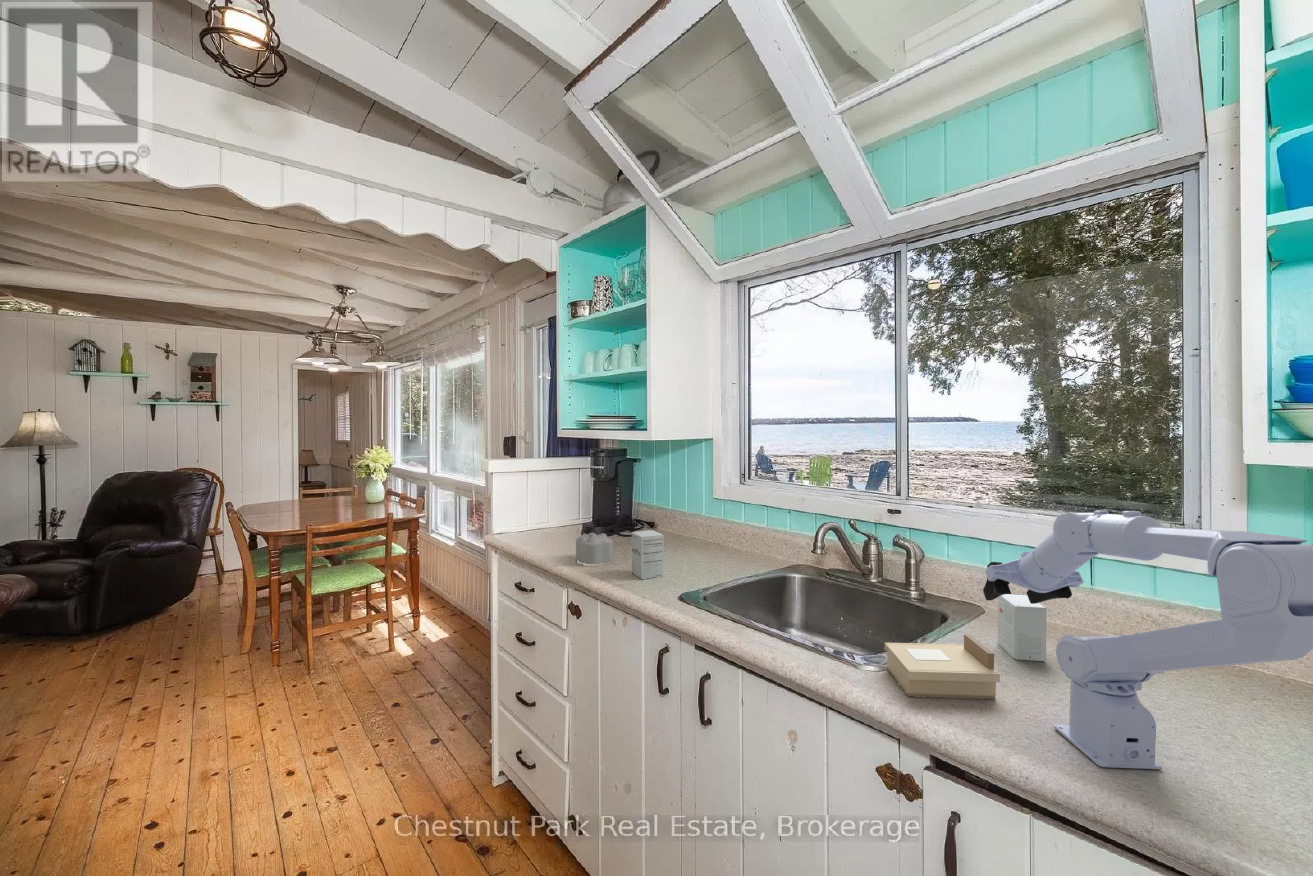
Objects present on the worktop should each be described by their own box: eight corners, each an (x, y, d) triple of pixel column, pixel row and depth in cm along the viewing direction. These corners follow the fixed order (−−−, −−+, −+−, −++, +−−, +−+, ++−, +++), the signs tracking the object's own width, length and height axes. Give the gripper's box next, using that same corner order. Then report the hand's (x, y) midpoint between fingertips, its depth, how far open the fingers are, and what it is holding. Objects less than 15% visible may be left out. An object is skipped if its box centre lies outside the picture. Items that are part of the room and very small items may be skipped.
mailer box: (995, 699, 90) (995, 675, 90) (908, 697, 91) (908, 673, 91) (965, 671, 100) (965, 649, 100) (886, 669, 101) (887, 648, 101)
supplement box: (631, 573, 163) (630, 531, 162) (653, 570, 166) (653, 529, 165) (640, 580, 156) (640, 536, 156) (664, 577, 159) (664, 534, 159)
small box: (1046, 662, 104) (1047, 608, 103) (1013, 660, 105) (1015, 606, 104) (1026, 645, 112) (1028, 594, 111) (996, 643, 113) (997, 592, 112)
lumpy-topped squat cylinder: (588, 568, 169) (588, 540, 168) (568, 559, 179) (568, 533, 179) (617, 562, 175) (616, 536, 175) (596, 554, 185) (595, 529, 185)
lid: (999, 682, 89) (1000, 658, 89) (909, 679, 90) (909, 655, 90) (964, 652, 101) (965, 630, 101) (884, 650, 102) (885, 628, 102)
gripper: (1087, 542, 89) (1041, 578, 100) (997, 535, 90) (960, 572, 100) (1107, 582, 85) (1056, 616, 95) (1012, 575, 85) (972, 610, 96)
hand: (1008, 596), depth 97 cm, fingers open, 7 cm apart
